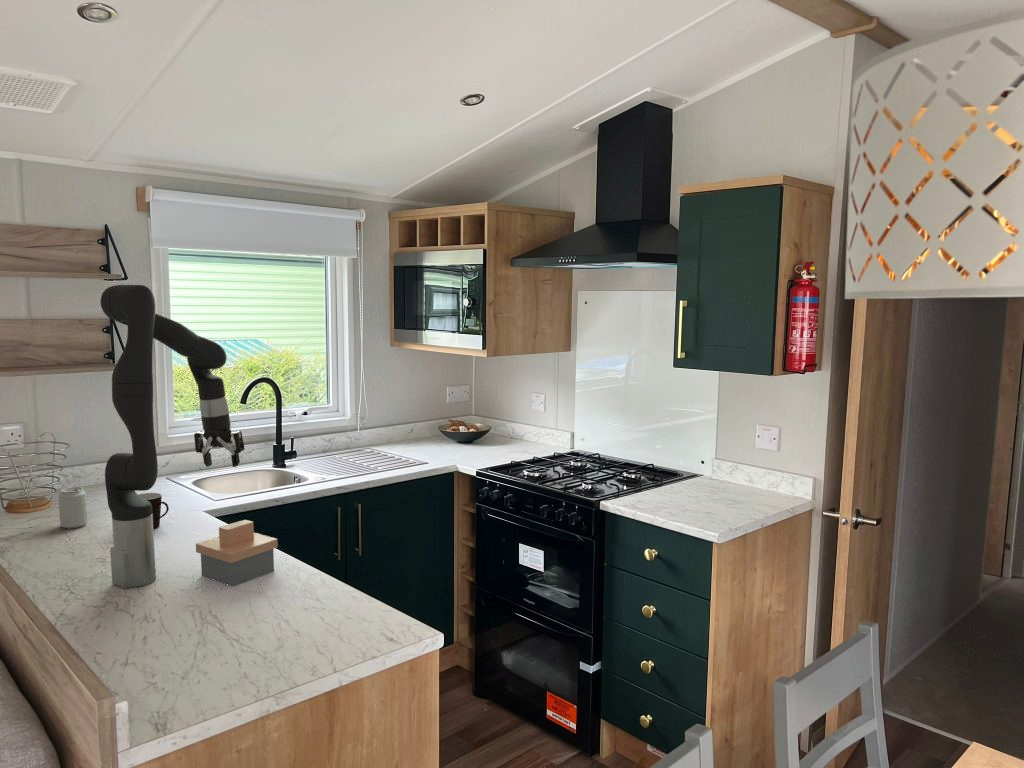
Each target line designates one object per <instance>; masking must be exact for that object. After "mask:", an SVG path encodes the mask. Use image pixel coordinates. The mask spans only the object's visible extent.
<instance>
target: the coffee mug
mask: <svg viewBox="0 0 1024 768" xmlns="http://www.w3.org/2000/svg"><path fill="white" fill-rule="evenodd" d="M137 494H138V495H139V496H140V497H142V498H143V499H145V500H147V501H149V502H150V503H151V504H152V514H153V530H157V529H159V528H160V524H161V523H160V522H161V519H162V518H163V517H164V516H166V515H167V514H168V512H169V509H170V508H169V504H168V503H167V502H166V501H162V499H163V498H162V496H163V494H162V493H160V492H144V493H143V492H142V493H137ZM162 505H165V508H166V510H165V512H164V513H163V514H162V515H161V512H162V511H161V510H162Z"/></svg>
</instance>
